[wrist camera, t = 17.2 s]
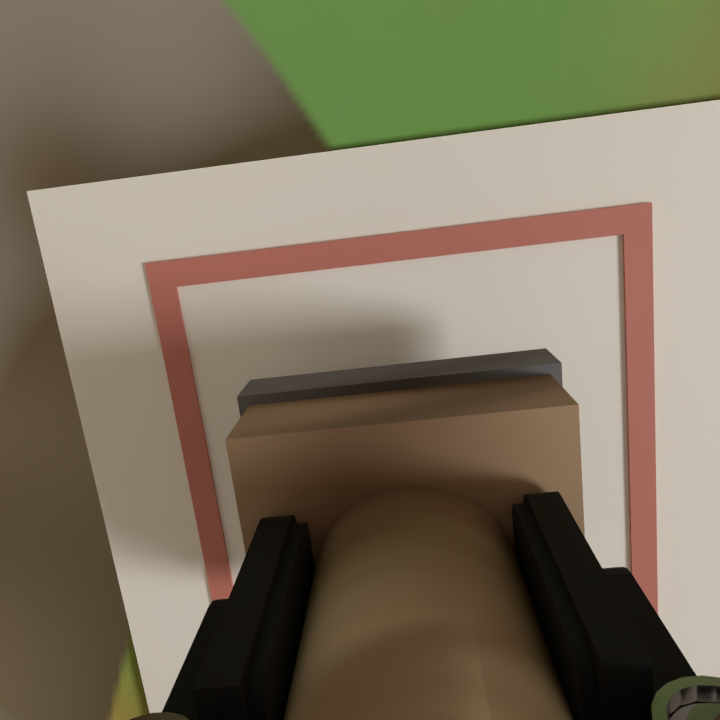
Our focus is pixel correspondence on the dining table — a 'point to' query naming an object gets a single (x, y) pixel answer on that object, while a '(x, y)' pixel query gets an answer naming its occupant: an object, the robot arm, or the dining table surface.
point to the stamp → (414, 529)
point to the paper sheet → (401, 332)
